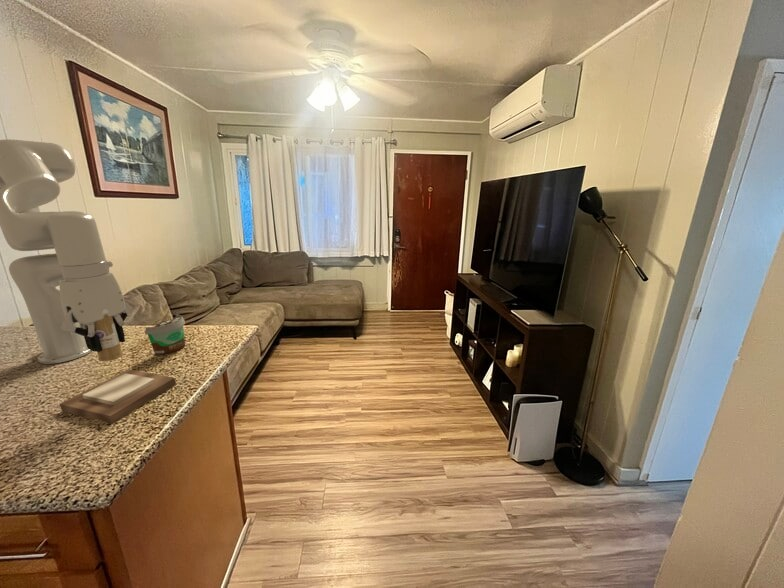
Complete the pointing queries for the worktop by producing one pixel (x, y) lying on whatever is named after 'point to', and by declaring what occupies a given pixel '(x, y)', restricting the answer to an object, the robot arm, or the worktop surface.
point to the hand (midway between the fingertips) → (107, 345)
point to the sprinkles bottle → (107, 338)
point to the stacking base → (118, 395)
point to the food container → (167, 336)
